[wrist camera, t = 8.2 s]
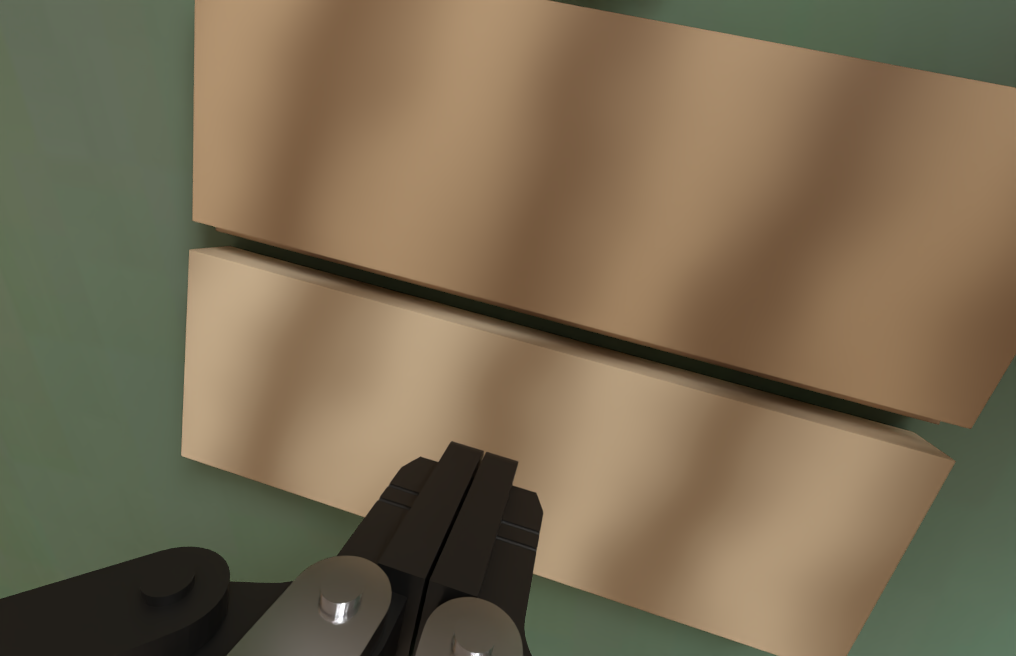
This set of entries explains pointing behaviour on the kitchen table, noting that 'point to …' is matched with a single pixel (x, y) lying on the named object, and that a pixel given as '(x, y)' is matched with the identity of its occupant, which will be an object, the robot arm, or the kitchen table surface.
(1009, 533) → the kitchen table surface
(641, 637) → the kitchen table surface
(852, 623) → the oak plank
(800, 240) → the laid plank
